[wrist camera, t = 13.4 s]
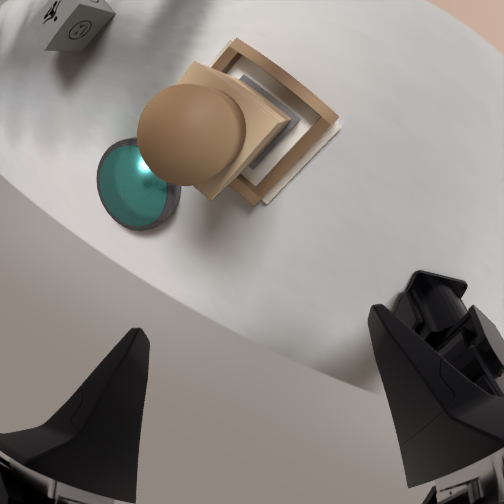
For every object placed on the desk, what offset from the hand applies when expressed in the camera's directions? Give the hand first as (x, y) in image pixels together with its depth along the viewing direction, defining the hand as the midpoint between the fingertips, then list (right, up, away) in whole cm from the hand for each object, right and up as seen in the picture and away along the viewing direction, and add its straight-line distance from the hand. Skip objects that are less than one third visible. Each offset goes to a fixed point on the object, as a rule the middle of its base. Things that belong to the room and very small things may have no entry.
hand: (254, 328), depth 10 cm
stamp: (0, +12, +8) cm, 14 cm away
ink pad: (-10, +9, +12) cm, 18 cm away
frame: (0, +12, +8) cm, 15 cm away
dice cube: (-15, +25, +5) cm, 29 cm away
